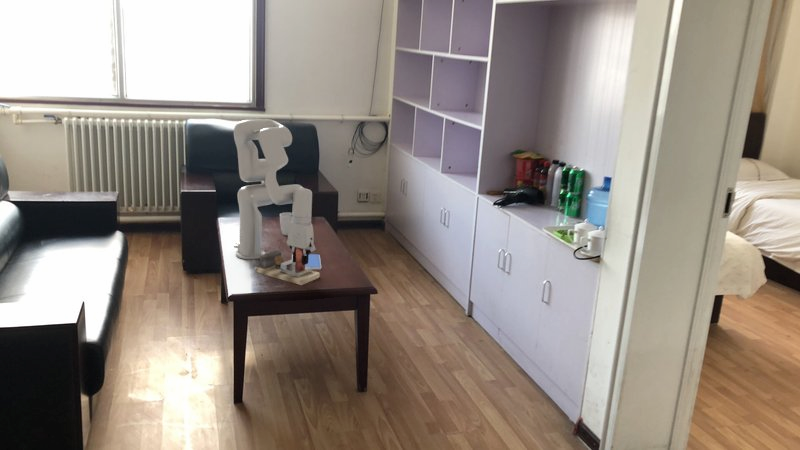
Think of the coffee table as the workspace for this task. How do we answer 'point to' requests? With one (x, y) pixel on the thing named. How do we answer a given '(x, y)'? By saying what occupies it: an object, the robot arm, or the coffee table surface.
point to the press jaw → (295, 265)
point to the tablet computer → (313, 261)
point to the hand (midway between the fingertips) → (300, 262)
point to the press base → (272, 267)
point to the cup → (285, 222)
